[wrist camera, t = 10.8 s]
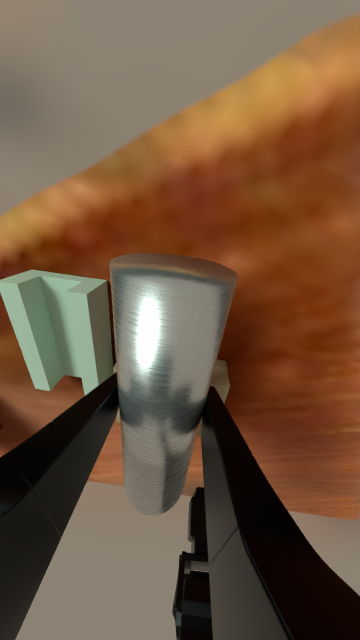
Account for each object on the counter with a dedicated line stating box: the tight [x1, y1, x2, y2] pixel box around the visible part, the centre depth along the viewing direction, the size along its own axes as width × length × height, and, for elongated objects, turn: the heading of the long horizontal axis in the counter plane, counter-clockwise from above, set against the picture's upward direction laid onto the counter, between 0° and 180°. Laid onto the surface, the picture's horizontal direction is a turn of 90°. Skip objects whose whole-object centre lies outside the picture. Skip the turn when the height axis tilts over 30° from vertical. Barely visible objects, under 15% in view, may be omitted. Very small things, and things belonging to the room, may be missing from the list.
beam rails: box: [113, 360, 230, 436], centre depth 18 cm, size 9×7×3 cm
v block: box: [0, 270, 114, 395], centre depth 16 cm, size 6×10×3 cm, turn 173°
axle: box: [110, 253, 238, 515], centre depth 10 cm, size 14×4×4 cm, turn 174°
